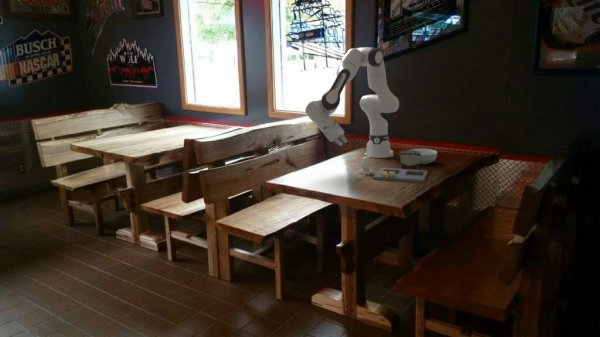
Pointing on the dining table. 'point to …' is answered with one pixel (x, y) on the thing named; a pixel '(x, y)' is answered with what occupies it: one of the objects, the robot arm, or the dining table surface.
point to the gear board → (400, 175)
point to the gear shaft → (365, 166)
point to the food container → (410, 159)
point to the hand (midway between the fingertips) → (344, 143)
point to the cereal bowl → (426, 155)
